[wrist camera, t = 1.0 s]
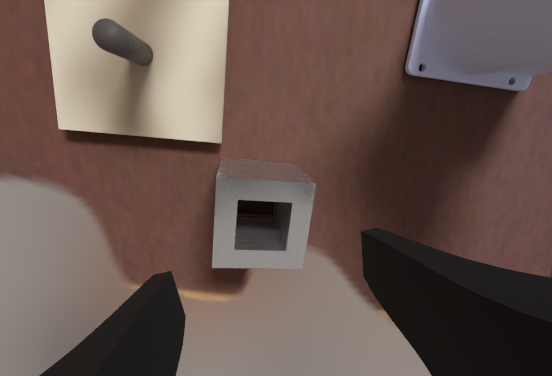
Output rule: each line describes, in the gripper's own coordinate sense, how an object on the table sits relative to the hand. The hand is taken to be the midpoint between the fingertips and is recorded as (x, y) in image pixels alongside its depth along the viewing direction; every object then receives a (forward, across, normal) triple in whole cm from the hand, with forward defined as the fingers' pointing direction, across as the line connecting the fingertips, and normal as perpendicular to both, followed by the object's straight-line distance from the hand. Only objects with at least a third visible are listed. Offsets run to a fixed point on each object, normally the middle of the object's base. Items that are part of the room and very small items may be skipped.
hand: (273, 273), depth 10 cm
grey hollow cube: (+9, 0, 0) cm, 9 cm away
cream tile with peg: (+9, +5, -10) cm, 14 cm away
